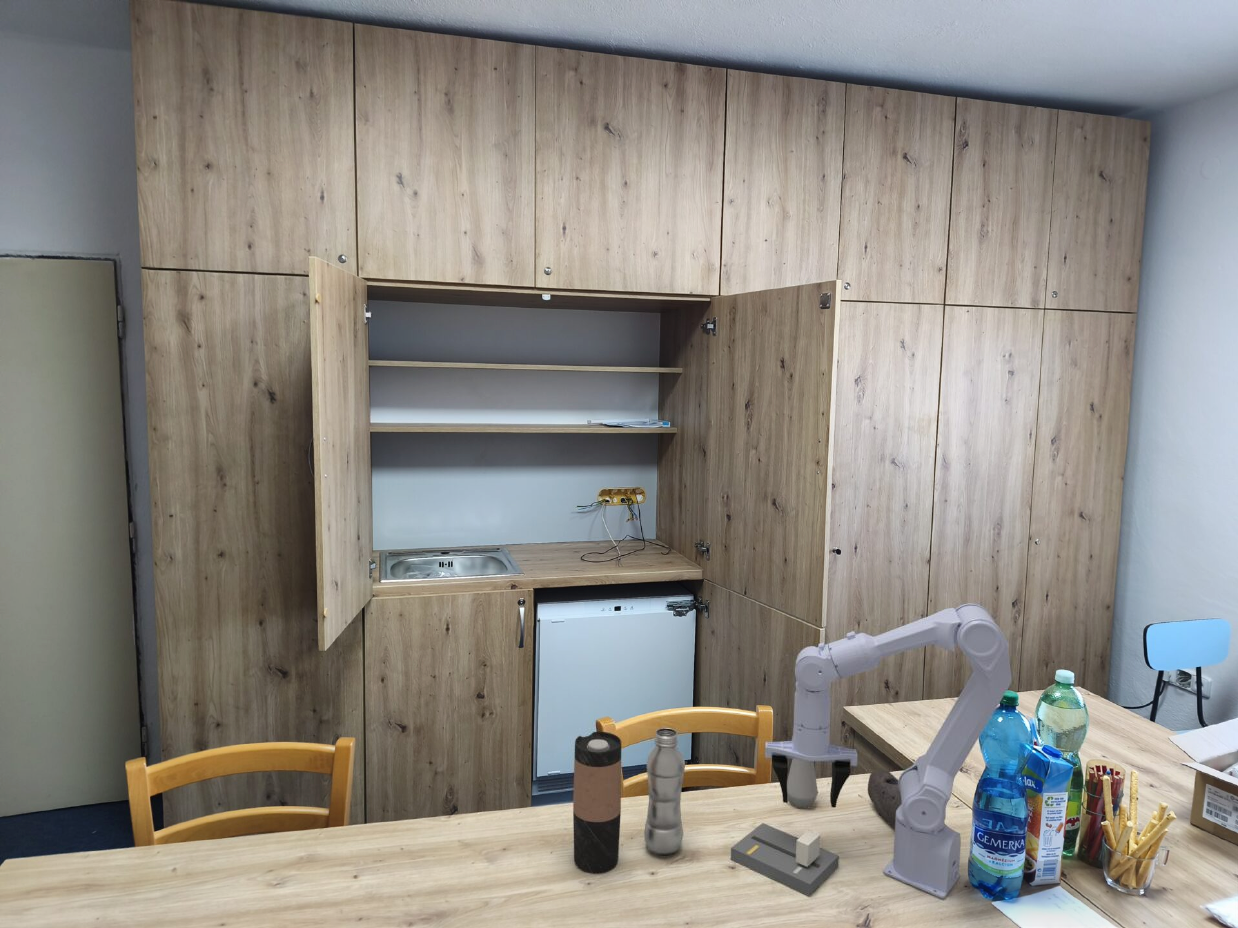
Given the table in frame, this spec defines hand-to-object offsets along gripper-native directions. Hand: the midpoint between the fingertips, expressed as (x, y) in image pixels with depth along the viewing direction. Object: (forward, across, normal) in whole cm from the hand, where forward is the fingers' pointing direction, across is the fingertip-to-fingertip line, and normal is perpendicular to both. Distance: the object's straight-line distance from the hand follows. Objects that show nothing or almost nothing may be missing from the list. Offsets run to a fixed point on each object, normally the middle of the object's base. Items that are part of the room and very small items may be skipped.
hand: (808, 801), depth 128 cm
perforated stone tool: (+9, -16, -12) cm, 23 cm away
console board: (+9, +4, +3) cm, 10 cm away
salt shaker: (+9, 0, -16) cm, 19 cm away
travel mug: (+9, +34, +9) cm, 36 cm away
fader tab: (+7, 0, +6) cm, 9 cm away
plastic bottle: (+9, +24, +3) cm, 25 cm away
